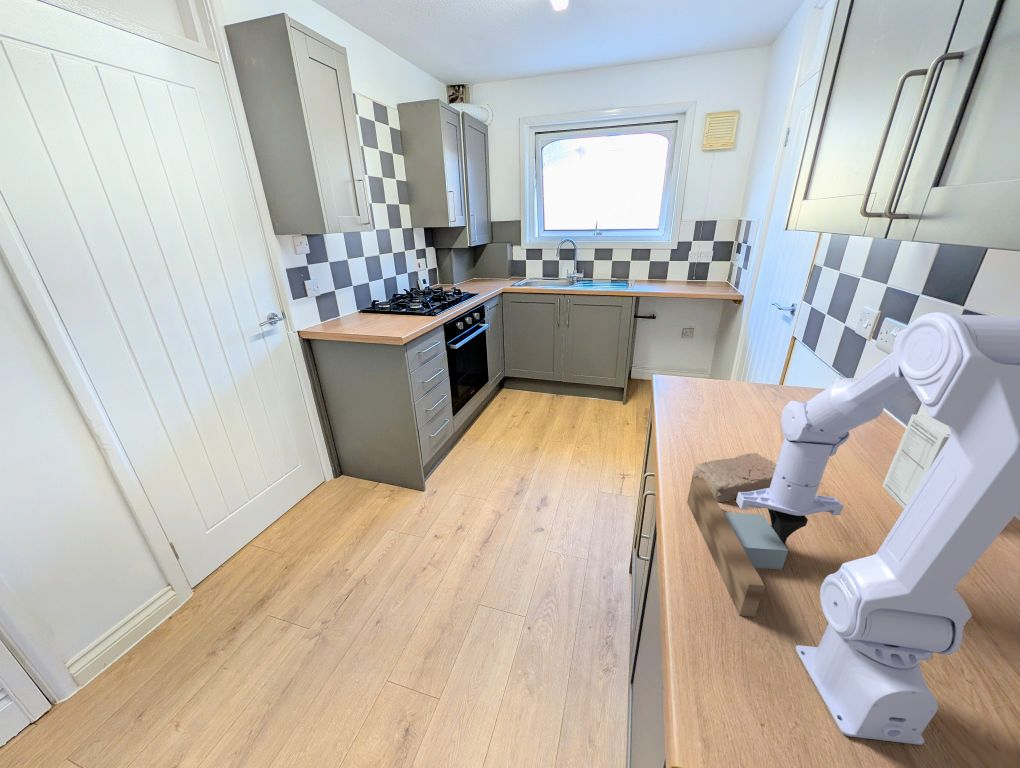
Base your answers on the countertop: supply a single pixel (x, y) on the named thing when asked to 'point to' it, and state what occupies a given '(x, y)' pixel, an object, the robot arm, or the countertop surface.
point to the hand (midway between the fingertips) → (775, 543)
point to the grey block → (758, 540)
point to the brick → (736, 475)
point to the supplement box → (915, 456)
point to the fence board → (725, 549)
